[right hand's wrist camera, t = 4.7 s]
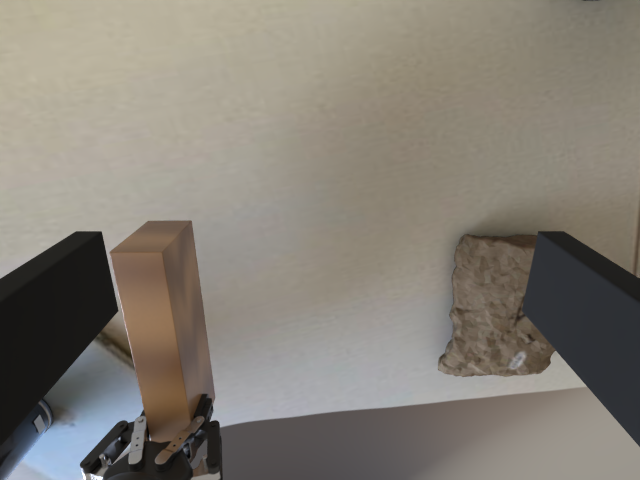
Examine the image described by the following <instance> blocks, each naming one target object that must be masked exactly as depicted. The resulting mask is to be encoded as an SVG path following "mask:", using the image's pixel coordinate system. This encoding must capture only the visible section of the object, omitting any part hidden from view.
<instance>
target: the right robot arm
mask: <svg viewBox="0 0 640 480" xmlns="http://www.w3.org/2000/svg"><path fill="white" fill-rule="evenodd" d="M584 1H598V0H584ZM117 312H118V307H117V302H116V297H115V292H114V288H113V283H112V278H111V274H110V269H109V264H108V259H107V255H106V250H105V245H104V241H103V236H102V231H76V232H74V233H73V234H71V235H70V236H68V237H66V238H65V239H63V240H62V241H60V242H59V243H57V244H55V245H54V246H52V247H51V248H49V249H47V250H46V251H44V252H43V253H41V254H39V255H38V256H36V257H35V258H33V259H31V260H30V261H28V262H27V263H25V264H23V265H22V266H20V267H19V268H17V269H15V270H14V271H12V272H11V273H9V274H7V275H6V276H4V277H3V278H1V279H0V446H1V445H2V444H3V443H4V442H5V441H6V440H7V438H8V437H9V436H10V435H11V434H12V433H13V432H14V430H15V429H16V428H17V427H18V426H19V425H20V423H21V422H22V421H23V420H24V419H25V418H26V417H27V415H28V414H29V413H30V412H31V411H32V410H33V409H34V407H35V406H36V405H37V404H38V403H39V402H40V400H41V399H42V398H43V397H44V396H45V395H46V394H47V392H48V391H49V390H50V389H51V388H52V387H53V386H54V384H55V383H56V382H57V381H58V380H59V379H60V377H61V376H62V375H63V374H64V373H65V372H66V371H67V369H68V368H69V367H70V366H71V365H72V364H73V363H74V361H75V360H76V359H77V358H78V357H79V356H80V354H81V353H82V352H83V351H84V350H85V349H86V348H87V346H88V345H89V344H90V343H91V342H92V341H93V340H94V338H95V337H96V336H97V335H98V334H99V333H100V331H101V330H102V329H103V328H104V327H105V326H106V325H107V323H108V322H109V321H110V320H111V319H112V318H113V317H114V315H115V314H116V313H117ZM522 312H523V313H524V314H525V315H526V317H527V318H528V319H529V320H530V321H531V322H532V323H533V325H534V326H535V327H536V328H537V329H538V330H539V331H540V333H541V334H542V335H543V336H544V337H545V338H546V340H547V341H548V342H549V343H550V344H551V345H552V346H553V348H554V349H555V350H556V351H557V352H558V353H559V354H560V356H561V357H562V358H563V359H564V360H565V361H566V363H567V364H568V365H569V366H570V367H571V368H572V369H573V371H574V372H575V373H576V374H577V375H578V376H579V377H580V379H581V380H582V381H583V382H584V383H585V384H586V386H587V387H588V388H589V389H590V390H591V391H592V392H593V394H594V395H595V396H596V397H597V398H598V399H599V400H600V402H601V403H602V404H603V405H604V406H605V407H606V409H607V410H608V411H609V412H610V413H611V414H612V415H613V417H614V418H615V419H616V420H617V421H618V422H619V423H620V425H621V426H622V427H623V428H624V429H625V430H626V431H627V433H628V434H629V435H630V436H631V437H632V438H633V440H634V441H635V442H636V443H637V444H638V445H639V446H640V279H639V278H637V277H636V276H634V275H633V274H631V273H629V272H628V271H626V270H625V269H623V268H621V267H620V266H618V265H617V264H615V263H613V262H612V261H610V260H609V259H607V258H605V257H604V256H602V255H601V254H599V253H597V252H596V251H594V250H593V249H591V248H589V247H588V246H586V245H585V244H583V243H581V242H580V241H578V240H577V239H575V238H573V237H572V236H570V235H569V234H567V233H566V232H564V231H538V236H537V241H536V245H535V250H534V255H533V259H532V264H531V269H530V274H529V278H528V283H527V288H526V292H525V297H524V302H523V307H522Z"/></svg>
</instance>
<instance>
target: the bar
mask: <svg viewBox="0 0 640 480" xmlns="http://www.w3.org/2000/svg"><path fill="white" fill-rule="evenodd" d="M110 257H111V262H112V266H113V271H114V275H115V280H116V285H117V289H118V294H119V298H120V303H121V307H122V312H123V316H124V321H125V325H126V330H127V334H128V339H129V344H130V348H131V353H132V357H133V362H134V366H135V371H136V375H137V380H138V384H139V389H140V394H141V398H142V403H143V407H144V412H145V416H146V421H147V425H148V430H149V434H150V439H151V441H155V442H159V443H162V442H167V441H172V440H173V439H174V438H175V437H176V435H177V434H178V433H179V432H180V431H181V430H185V429H186V428H187V427H188V426H189V424H190V423H191V422H192V421H193V419H194V413H195V411H196V408H197V406H198V403H199V401H200V398H201V395H202V394H209V398H212V404H213V403H214V400H215V392H214V384H213V377H212V369H211V362H210V354H209V347H208V340H207V332H206V325H205V317H204V310H203V302H202V295H201V287H200V280H199V273H198V265H197V258H196V250H195V243H194V235H193V228H192V221H148V222H146V223H145V224H144V225H143V226H141V227H140V228H139V229H138V230H136V231H135V232H134V233H133V234H131V235H130V236H129V237H128V238H127V239H125V240H124V241H123V242H122V243H120V244H119V245H118V246H117V247H115V248H114V249H113V250H112V251H110ZM196 453H197V452H196Z"/></svg>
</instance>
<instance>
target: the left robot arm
mask: <svg viewBox="0 0 640 480" xmlns="http://www.w3.org/2000/svg"><path fill="white" fill-rule="evenodd" d="M212 413H213V404H212V398H209V394H202V395H201V398H200V401H199V403H198V406H197V408H196V411H195V413H194V419H193V421H192V422H191V423H190V424H189V426H188V427H187V428H186V429H185V430H181V431H180V432H179V433H178V434H177V435H176V437H175V438H174V439H173V440H172V441H167V442H162V443H159V442H155V441H150V434H149V430H148V425H147V421H146V416H145V412H144V410H143V412H142V414H141V415H140V417H138V418H137V419H136V420H135V421H134V422H130V423H128V422H127V421H120V422H118V423H117V424H116V425H115V426H114V427H113V428H112V429H111V431H110V432H109V433H108V434H107V435H106V436H105V437H104V438H103V439H102V440H101V441H100V442H99V443H98V445H97V446H96V447H95V448H94V449H93V450H92V451H91V452H90V453H89V454H88V455H87V456H86V457H85V459H84V460H83V461H82V462H81V463H80V468H81V471H82V474H83V477H84V480H222V441H221V436H220V425H219V422H218V421H211V422H210V419H211V416H212ZM51 423H52V412H51V410H50V408H49V406H48V405H47V404H46V403H45V402H44V401H43V400H42V399H41V400H40V402H39V403H38V404H37V405H36V406H35V407H34V409H33V410H32V411H31V412H30V413H29V414H28V415H27V417H26V418H25V419H24V420H23V421H22V422H21V423H20V425H19V426H18V427H17V428H16V429H15V430H14V432H13V433H12V434H11V435H10V436H9V437H8V438H7V440H6V441H5V442H4V443H3V444H2V445H1V446H0V480H7V479H8V477H9V476H10V475H11V473H12V472H13V471H14V470H15V468H16V467H17V466H18V465H19V463H20V462H21V461H22V460H23V458H24V457H25V456H26V455H27V453H28V452H29V451H30V450H31V448H32V447H33V446H34V445H35V443H36V442H37V441H38V440H39V438H40V437H41V436H42V434H43V433H45V432H46V431H47V429H48V428H49V427H50V425H51ZM204 440H206V441H208V447H207V448H208V449H207V455H204V456H203V458H202V460H201V461H200V464H199V466H198V467H197V468H195V469H192V467H191V465H190V463H191V462H192V460H193V459H194V458H195V456H196V452H197V450H198V448H199V447H200V446H201V444H202V443H203V441H204ZM116 441H117V442H116ZM130 443H131V447H130V452H129V453H128V454H127V455H125V456H124V457H122V458H121V459H120V460H118V461H117V462H116V463H114V462H115V460H116V459H117V458H118V457H119V456H120V454H121V453H122V452H123V451H124V450H125V449H126V447H127V446H128V445H129V444H130ZM113 463H114V464H113ZM112 464H113V465H112Z"/></svg>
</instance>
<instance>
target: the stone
mask: <svg viewBox="0 0 640 480" xmlns="http://www.w3.org/2000/svg"><path fill="white" fill-rule="evenodd" d="M536 241H537V236H534V235H515V236H511V237H506V238H505V237H489V236H481V237H478V236H471V235H469V234H468V235H464V236H463V237H462V238H460V240H459V245H458V246H457V247H456V251H455V254H454V259H455V260H454V261H455V263H456V268H455V269H454V272H453V275H452V284H453V296H454V297H453V299H454V303H453V306H452V309H451V312H450V314H449V315H450V318H451V320H452V321H453V323H454V325H453V334H452V340H451V341H450V342H449V343H448V345H447V347H446V352H445V353H444V354H443V355H442V356H441V357H440V358H439V361H438V370H440V371H442V372H443V373H445V374H452V375H454V376H462V377H466V376H474V375H476V376H483V375H500V376H505V377H507V376H512V375H528V374H539V373H541V372H542V371H543V370H545V369H546V368H547V367H548V366H549V365H550V363H551V362H550V357H551V355H552V354H553V352H554V351H556V350H555V349H554V348H553V346H552V345H551V344H550V343H549V342H548V341H547V340H546V338H545V337H544V336H543V335H542V334H541V333H540V331H539V330H538V329H537V328H536V327H535V326H534V325H533V323H532V322H531V321H530V320H529V319H528V318H527V317H526V315H525V314H524V313H523V312H522V307H523V302H524V297H525V292H526V288H527V283H528V278H529V274H530V269H531V264H532V259H533V255H534V250H535V245H536Z"/></svg>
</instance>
